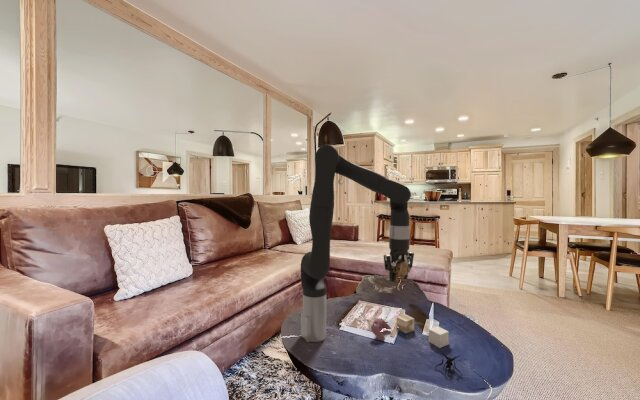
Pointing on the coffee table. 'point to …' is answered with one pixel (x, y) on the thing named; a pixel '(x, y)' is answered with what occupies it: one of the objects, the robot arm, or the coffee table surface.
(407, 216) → the robot arm
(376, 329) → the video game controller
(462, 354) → the coffee table surface
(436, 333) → the beige block
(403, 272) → the lion figurine
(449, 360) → the creature
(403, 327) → the birch block
